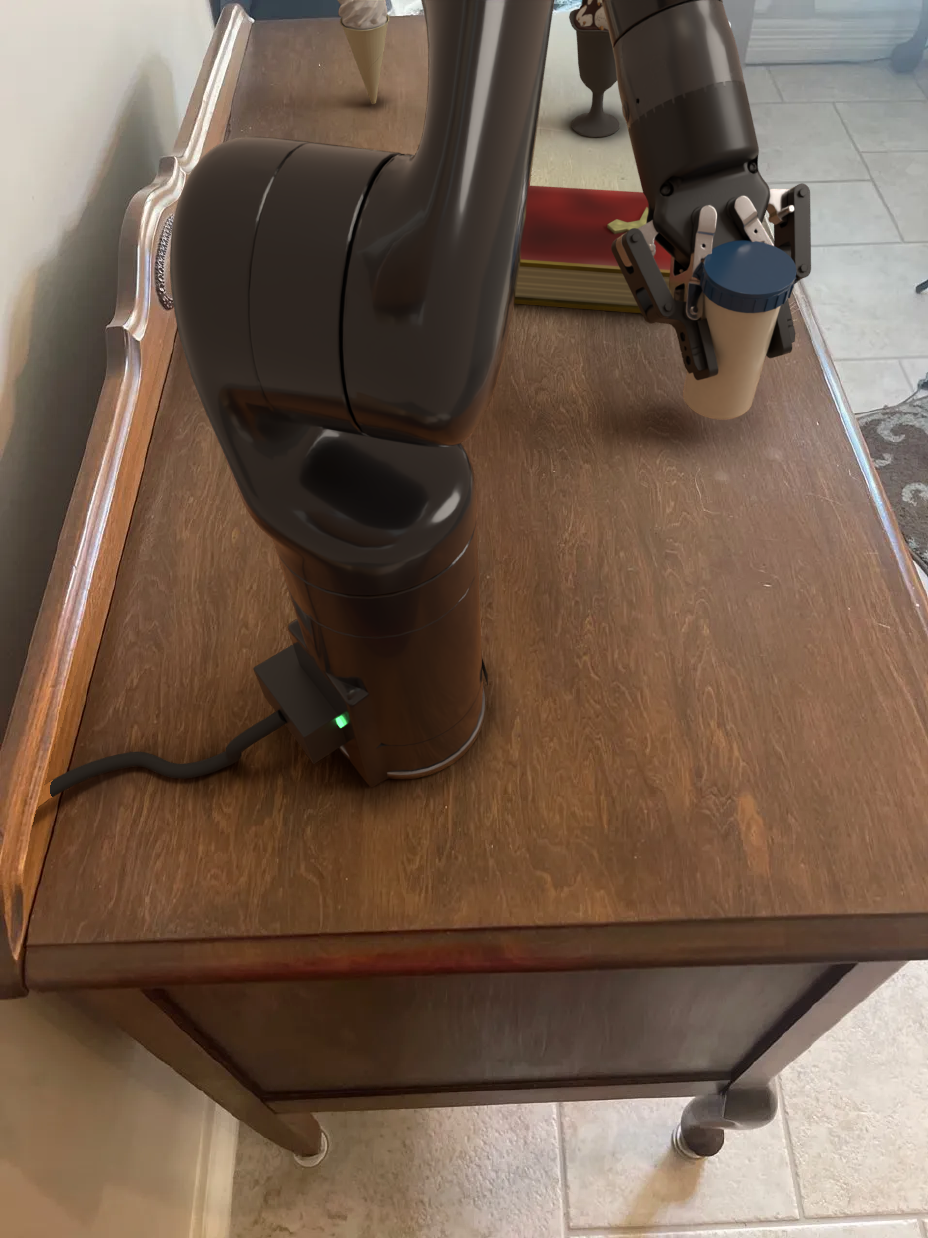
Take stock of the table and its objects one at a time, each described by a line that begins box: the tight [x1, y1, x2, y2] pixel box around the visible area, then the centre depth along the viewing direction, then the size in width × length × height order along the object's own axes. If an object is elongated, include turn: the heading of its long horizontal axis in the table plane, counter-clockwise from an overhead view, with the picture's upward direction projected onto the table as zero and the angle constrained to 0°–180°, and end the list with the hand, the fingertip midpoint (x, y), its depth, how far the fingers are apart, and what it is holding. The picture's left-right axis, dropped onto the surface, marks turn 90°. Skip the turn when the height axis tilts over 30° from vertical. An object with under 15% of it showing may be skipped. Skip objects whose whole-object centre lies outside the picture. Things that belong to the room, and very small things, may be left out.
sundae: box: [568, 0, 621, 138], centre depth 89 cm, size 7×7×15 cm
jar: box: [682, 294, 781, 421], centre depth 62 cm, size 5×5×10 cm
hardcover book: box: [514, 185, 671, 314], centre depth 79 cm, size 12×21×4 cm, turn 80°
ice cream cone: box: [337, 0, 390, 105], centre depth 93 cm, size 5×5×15 cm
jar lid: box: [700, 240, 797, 313], centre depth 59 cm, size 6×6×1 cm
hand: (743, 365), depth 62 cm, fingers closed on jar, 5 cm apart
